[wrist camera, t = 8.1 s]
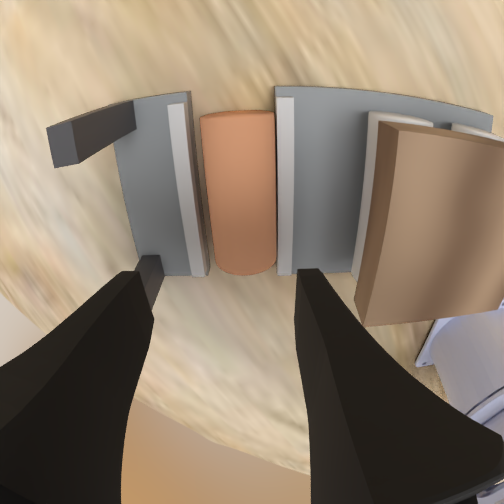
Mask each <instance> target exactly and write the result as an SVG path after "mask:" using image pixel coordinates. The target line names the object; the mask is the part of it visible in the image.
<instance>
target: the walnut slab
mask: <svg viewBox="0 0 504 504" xmlns="http://www.w3.org/2000/svg"><path fill="white" fill-rule="evenodd" d="M503 298H504V142H502V141H498V140H494V139H490V138H485V137H481V136H476V135H472V134H467V133H462V132H457V131H451V130H446V129H440V128H434V127H428V126H421V125H414V124H406V123H398V122H389V121H378V136H377V149H376V160H375V170H374V179H373V188H372V196H371V204H370V211H369V218H368V225H367V231H366V238H365V244H364V250H363V255H362V261H361V266H360V272H359V277H358V282H357V287H356V292H355V296H354V301H355V304H356V307H357V310H358V313H359V316H360V319H361V323H362V326H363V327H369V326H380V325H391V324H401V323H410V322H419V321H427V320H435V319H442V318H450V317H456V316H463V315H470V314H476V313H482V312H488V311H493V310H498V308H499V306H500V304H501V302H502V300H503Z"/></svg>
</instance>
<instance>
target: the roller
mask: <svg viewBox="0 0 504 504" xmlns="http://www.w3.org/2000/svg"><path fill="white" fill-rule="evenodd" d="M200 126H201V137H202V148H203V158H204V167H205V177H206V186H207V195H208V204H209V213H210V221H211V229H212V237H213V245H214V253H215V261H216V264H217V266H218V267H219V268H220V269H221V270H223V271H225V272H227V273H230V274H234V275H253V274H257V273H261V272H263V271H265V270H267V269H269V268H270V267H271V266H272V265H273V264H274V263H275V261H276V258H277V249H276V161H275V119H274V113H273V112H270V111H262V110H244V111H227V112H218V113H213V114H208V115H204V116H202V117H200Z"/></svg>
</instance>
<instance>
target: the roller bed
mask: <svg viewBox="0 0 504 504" xmlns="http://www.w3.org/2000/svg"><path fill="white" fill-rule="evenodd" d="M274 93H275V135H276V249H277V258H276V266H277V274H278V276H284V275H291V274H297V269H310V268H318V269H319V270H320V271H321V272H322V273H339V272H351V273H352V276H353V278H354V279H355V280H356V281H357V282H358V277H359V272H360V266H361V261H362V255H363V250H364V244H365V238H366V231H367V225H368V218H369V211H370V204H371V196H372V188H373V179H374V170H375V160H376V149H377V136H378V121H389V122H398V123H406V124H414V125H421V126H428V127H434V128H440V129H446V130H451V131H457V132H462V133H467V134H472V135H476V136H481V137H485V138H490V139H494V140H498V141H502V142H504V139H503V138H502V137H500V136H498V135H495V134H493V133H491V131H492V122H493V115H490V114H487V113H484V112H481V111H477V110H473V109H469V108H465V107H461V106H457V105H453V104H448V103H444V102H439V101H434V100H429V99H424V98H418V97H412V96H406V95H400V94H393V93H385V92H377V91H368V90H359V89H347V88H333V87H313V86H274ZM46 130H47V135H48V140H49V145H50V150H51V155H52V160H53V164H54V168H59V167H64V166H69V165H74V164H79V163H81V162H82V161H84V160H85V159H87V158H88V157H90V156H92V155H93V154H95V153H96V152H98V151H100V150H101V149H103V148H105V147H106V146H108V145H110V144H111V143H114V149H115V154H116V160H117V165H118V171H119V176H120V181H121V186H122V191H123V195H124V200H125V204H126V209H127V213H128V217H129V222H130V226H131V230H132V234H133V238H134V242H135V246H136V250H137V253H138V257H139V263H138V264H137V266H136V268H135V270H134V271H139V272H140V275H141V279H142V282H143V285H144V289H145V292H146V295H147V298H148V302H149V305H150V308H151V311H152V308H153V305H154V303H155V300H156V297H157V295H158V292H159V290H160V287H161V285H162V282H163V279H164V277H165V276H192V277H205V276H206V275H208V273H209V269H210V262H209V255H208V248H207V240H206V232H205V225H204V217H203V208H202V200H201V192H200V183H199V174H198V165H197V155H196V145H195V135H194V124H193V113H192V101H191V91H186V92H178V93H170V94H163V95H156V96H150V97H144V98H138V99H133V100H128V101H122V102H118V103H114V104H110V105H108V106H105V107H102V108H99V109H96V110H93V111H90V112H87V113H84V114H81V115H79V116H76V117H73V118H70V119H68V120H65V121H62V122H60V123H57V124H55V125H52V126H50V127H47V128H46Z"/></svg>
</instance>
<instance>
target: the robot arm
mask: <svg viewBox="0 0 504 504" xmlns="http://www.w3.org/2000/svg"><path fill="white" fill-rule="evenodd" d="M153 324H154V317H153V314H152V311H151V308H150V305H149V302H148V298H147V295H146V292H145V289H144V285H143V282H142V279H141V275H140V272H139V271H122V272H120V273H119V274H118V275H116V276H115V277H114V278H113V279H111V280H110V281H109V282H108V283H107V284H105V285H104V286H103V287H102V288H101V289H100V290H99V291H97V292H96V293H95V294H94V295H93V296H92V297H91V298H89V299H88V300H87V301H86V302H85V303H84V304H83V305H82V306H80V307H79V308H78V309H77V310H76V311H75V312H74V313H72V314H71V315H70V316H69V317H68V318H66V319H65V320H64V321H63V322H62V323H61V324H59V325H58V326H57V327H56V328H55V329H54V330H52V331H51V332H50V333H49V334H47V335H46V336H45V337H44V338H42V339H41V340H40V341H38V342H37V343H36V344H34V345H33V346H32V347H30V348H29V349H27V350H26V351H25V352H23V353H22V354H20V355H19V356H17V357H15V358H14V359H12V360H11V361H9V362H8V363H6V364H4V365H3V366H1V367H0V504H121V471H122V458H123V448H124V439H125V433H126V426H127V420H128V415H129V410H130V406H131V403H132V399H133V396H134V393H135V390H136V387H137V383H138V380H139V377H140V374H141V371H142V368H143V365H144V361H145V358H146V355H147V352H148V349H149V345H150V340H151V335H152V329H153ZM294 325H295V340H296V351H297V357H298V362H299V368H300V374H301V379H302V385H303V391H304V397H305V402H306V408H307V415H308V424H309V441H310V468H311V504H504V482H502V483H499V484H496V483H498V482H499V481H501V480H503V479H504V298H503V300H502V302H501V304H500V306H499V308H498V310H493V311H488V312H482V313H476V314H470V315H463V316H456V317H450V318H442V319H436V321H435V323H434V325H433V327H432V329H431V332H430V334H429V336H428V338H427V340H426V342H425V344H424V346H423V348H422V350H421V352H420V354H419V356H418V358H417V360H416V362H415V365H416V367H422V366H428V365H433V364H434V365H435V367H436V370H437V372H438V375H439V377H440V380H441V382H442V385H443V387H444V390H445V393H446V395H447V398H448V401H449V403H450V405H449V404H448V403H446V402H445V401H444V400H442V399H441V398H440V397H438V396H437V395H436V394H434V393H433V392H432V391H431V390H429V389H428V388H427V387H425V386H424V385H423V384H422V383H420V382H419V381H418V380H417V379H415V378H414V377H413V376H412V375H411V374H409V373H408V372H407V371H406V370H405V369H404V368H403V367H402V366H400V365H399V364H398V363H397V362H396V361H395V360H394V359H393V358H392V357H391V356H390V355H389V354H388V353H387V352H386V351H385V350H384V349H383V348H382V347H381V346H380V345H379V344H378V343H377V342H376V340H375V339H374V338H373V337H372V336H371V335H370V334H369V333H368V332H367V330H366V329H365V328H364V327H363V326H362V325H361V323H360V322H359V321H358V320H357V319H356V317H355V316H354V315H353V314H352V312H351V311H350V310H349V309H348V307H347V306H346V305H345V304H344V302H343V301H342V300H341V298H340V297H339V296H338V294H337V293H336V292H335V290H334V289H333V287H332V286H331V285H330V283H329V282H328V280H327V279H326V277H325V276H324V275H323V273H322V272H321V271H320V270H319V269H318V268H310V269H297V283H296V300H295V315H294ZM494 484H496V485H494Z"/></svg>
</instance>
